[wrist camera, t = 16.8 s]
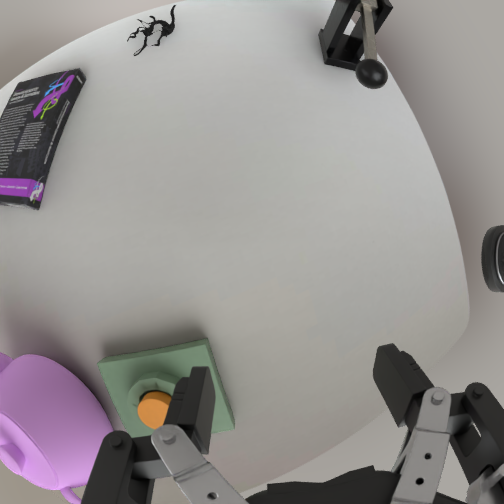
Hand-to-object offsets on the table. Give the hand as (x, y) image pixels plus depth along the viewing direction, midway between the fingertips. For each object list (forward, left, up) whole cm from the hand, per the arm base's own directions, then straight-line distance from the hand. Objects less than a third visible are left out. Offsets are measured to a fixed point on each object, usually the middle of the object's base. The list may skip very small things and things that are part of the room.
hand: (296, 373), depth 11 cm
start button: (+12, +6, -11) cm, 17 cm away
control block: (+12, +6, -15) cm, 20 cm away
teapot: (+29, +7, -15) cm, 33 cm away
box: (+26, -29, -15) cm, 42 cm away
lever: (-19, -27, -8) cm, 34 cm away
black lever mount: (-20, -31, -15) cm, 40 cm away
